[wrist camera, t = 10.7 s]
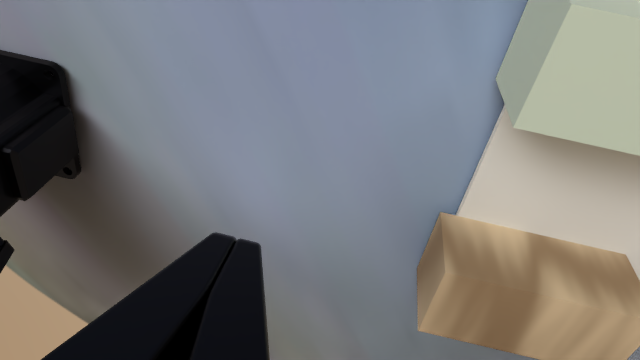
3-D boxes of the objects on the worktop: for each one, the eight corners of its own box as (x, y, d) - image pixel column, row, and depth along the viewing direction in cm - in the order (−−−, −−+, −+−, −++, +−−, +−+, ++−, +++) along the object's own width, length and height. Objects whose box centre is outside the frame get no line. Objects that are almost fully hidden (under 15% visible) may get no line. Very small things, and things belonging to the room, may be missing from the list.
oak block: (418, 330, 22) (610, 376, 22) (445, 272, 20) (661, 322, 19) (417, 268, 25) (584, 307, 25) (440, 212, 23) (625, 254, 23)
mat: (421, 292, 27) (421, 296, 26) (589, -89, 15) (592, -88, 15) (607, 335, 26) (609, 339, 26) (918, -22, 15) (926, -20, 15)
